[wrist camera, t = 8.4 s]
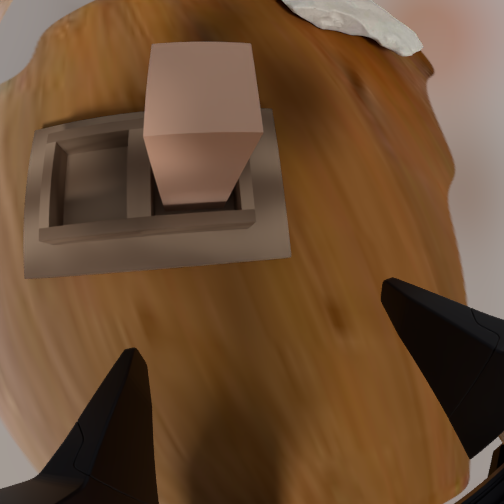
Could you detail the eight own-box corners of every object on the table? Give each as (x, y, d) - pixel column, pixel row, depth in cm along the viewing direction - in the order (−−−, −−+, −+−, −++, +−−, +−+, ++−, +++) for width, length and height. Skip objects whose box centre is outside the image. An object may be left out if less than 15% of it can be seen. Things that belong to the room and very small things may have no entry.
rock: (345, 88, 26) (418, 64, 28) (362, 62, 21) (435, 45, 23) (238, -11, 26) (319, -22, 28) (240, -35, 22) (326, -42, 24)
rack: (285, 257, 22) (305, 253, 18) (31, 278, 17) (7, 278, 14) (268, 116, 23) (281, 92, 19) (40, 136, 18) (22, 116, 15)
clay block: (223, 207, 20) (263, 132, 9) (165, 211, 19) (143, 136, 8) (218, 148, 20) (251, 43, 10) (164, 151, 19) (151, 44, 9)
